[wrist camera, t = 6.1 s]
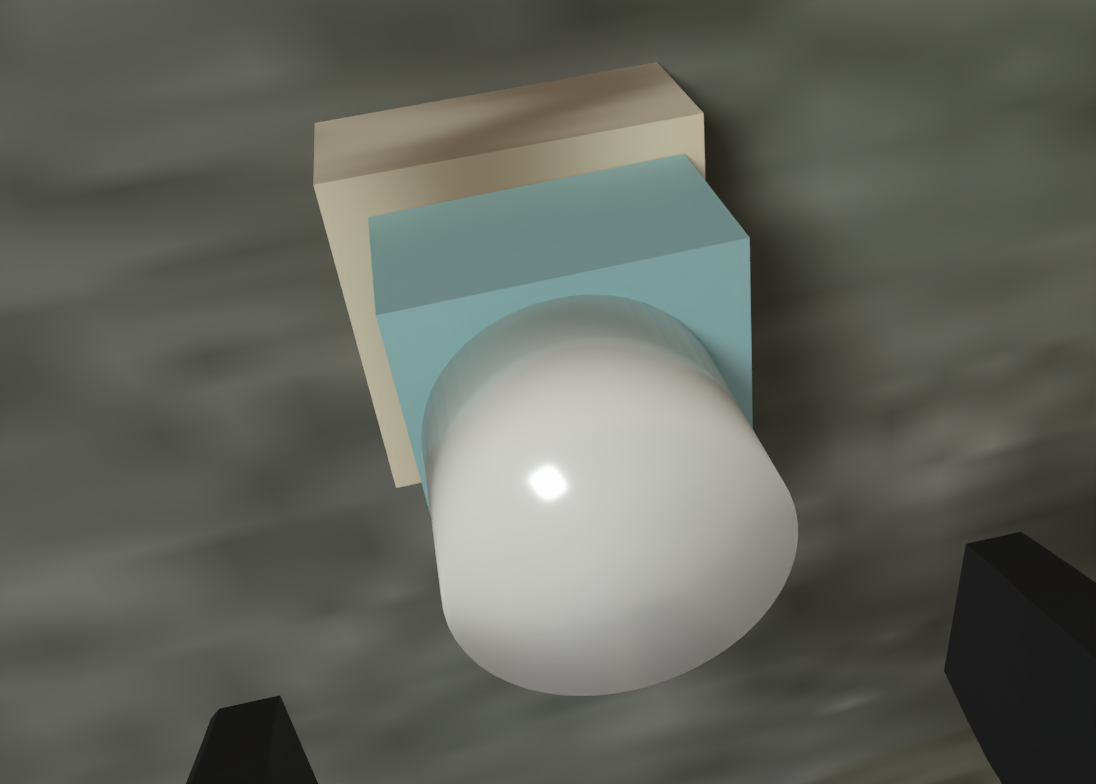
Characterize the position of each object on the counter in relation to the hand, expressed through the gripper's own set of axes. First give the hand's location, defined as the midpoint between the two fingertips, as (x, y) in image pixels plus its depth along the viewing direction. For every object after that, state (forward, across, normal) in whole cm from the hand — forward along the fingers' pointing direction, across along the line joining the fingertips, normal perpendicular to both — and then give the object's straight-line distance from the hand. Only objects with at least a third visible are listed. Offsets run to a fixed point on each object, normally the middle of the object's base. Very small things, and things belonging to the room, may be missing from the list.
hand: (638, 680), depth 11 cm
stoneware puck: (+5, 0, 0) cm, 5 cm away
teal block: (+8, 0, 0) cm, 8 cm away
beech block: (+11, 0, 0) cm, 11 cm away
